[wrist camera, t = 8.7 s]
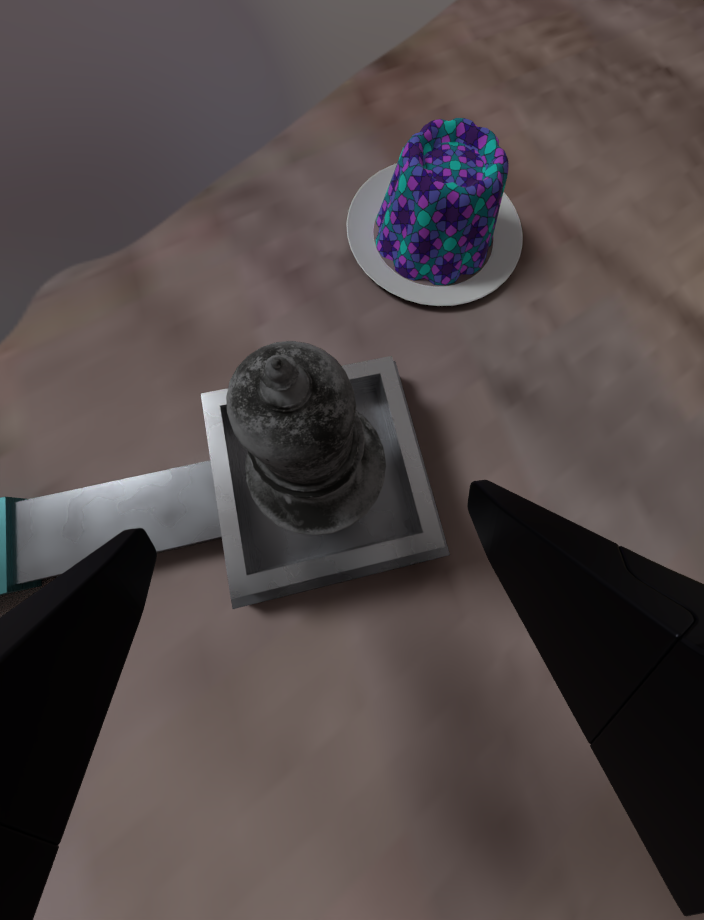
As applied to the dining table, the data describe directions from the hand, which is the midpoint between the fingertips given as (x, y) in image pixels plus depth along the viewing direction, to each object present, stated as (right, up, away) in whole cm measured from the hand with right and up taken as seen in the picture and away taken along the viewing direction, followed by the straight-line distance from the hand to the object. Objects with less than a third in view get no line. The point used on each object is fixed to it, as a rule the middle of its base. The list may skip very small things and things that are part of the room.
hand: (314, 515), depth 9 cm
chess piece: (-1, +1, +8) cm, 8 cm away
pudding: (+7, +17, +14) cm, 23 cm away
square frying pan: (-9, -1, +9) cm, 13 cm away
